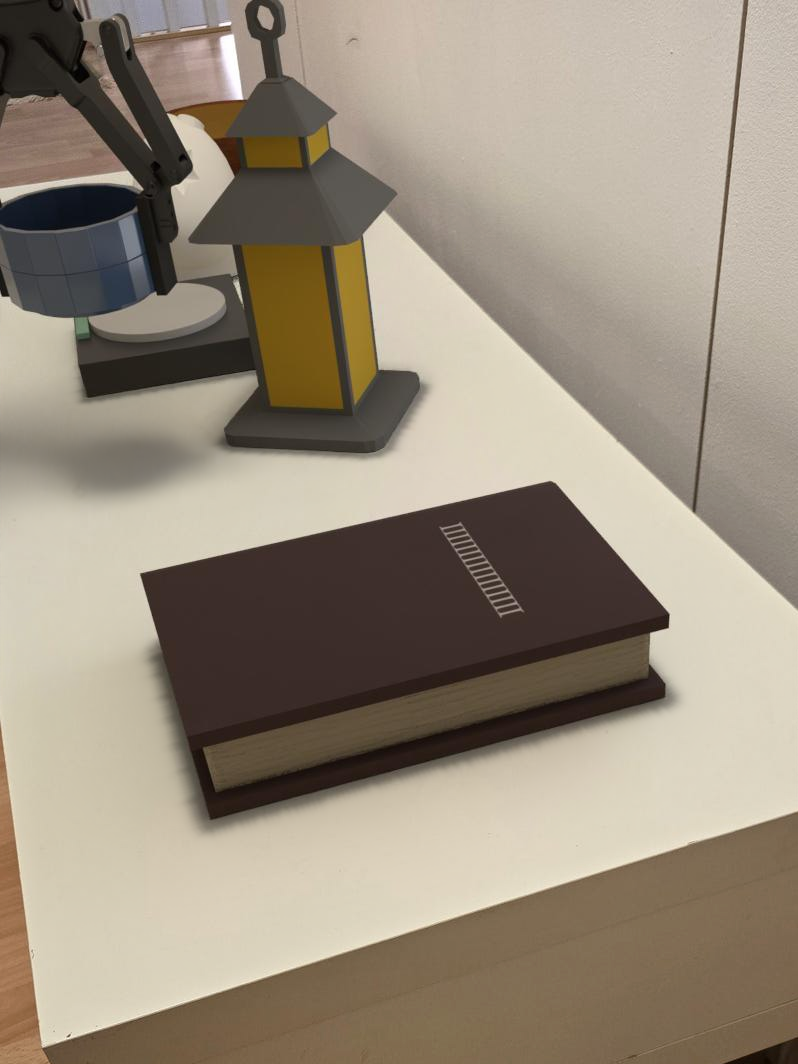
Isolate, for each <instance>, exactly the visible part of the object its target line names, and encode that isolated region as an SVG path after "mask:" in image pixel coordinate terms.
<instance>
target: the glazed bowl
mask: <svg viewBox="0 0 798 1064" xmlns="http://www.w3.org/2000/svg"><path fill="white" fill-rule="evenodd" d="M141 192H142V190H140V189H138V188H136V187H133V185H128V184H121V183H120V184H119V183H113V182H90V183H88V182H86V183H84V182H83V183H75V184H66V185H59V186H51V187H46V188H43V189H39V190H35V191H31V192H26V193H23V194H20V195H18V196H15V197H13V198H11V199H8V200H6V201H2V202H1V204H0V266H1V270H2V273H3V276H4V280H5V283H6V286H7V289H8V293H9V296H10V297H9V299H10V302H11V303H12V304H13V305H15V306H16V307H17V308H19V309H21V310H22V311H24V312H30V313H35V314H38V315H41V316H45V317H50V318H58V319H74V318H81V317H91V316H97V315H103V314H108V313H112V312H116V311H119V310H122V309H125V308H128V307H130V306H133V305H135V304H137V303H139V302H141V301H142V300H144V299H145V298H147V297H148V296H149V295H150V294H152V293H154V292H156V289H155V285H154V281H153V276H152V272H151V267H150V263H149V258H148V254H147V250H146V245H145V241H144V236H143V232H142V228H141V223H140V219H139V214H138V210H137V205H136V201H135V198H136V197H137V196H138V195H139V194H140V193H141Z"/></svg>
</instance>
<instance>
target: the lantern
mask: <svg viewBox="0 0 798 1064" xmlns="http://www.w3.org/2000/svg"><path fill="white" fill-rule="evenodd" d="M260 7H264V8H266V9H268V10H269V12H270V14H271V16H272V18H273V22H272V27H271V29H268V28H266V27H264V26H263V25H262V23H261V21H260V19H259V17H258V15H259V10H260ZM244 15H245V20H246V27H247V31H248V33H249V35H250V38H252V39H255V40H257V41H259V42H260V43H259V44H260V50H261V54H262V62H263V68H264V74H265V78H264V79H262V80H261V81H260V82H258V83H257V84H256V86H255V87H254V89H253V90H252V92H251V93H250V94H249V96H248V97H247V99H246V100H247V101H246V103H245V104H244V106H243V107H242V109H241V110H240V112H239V113H238V115H237V117H236V118H235V120H234V121H233V123H232V124H231V126H230V127H229V129H228V130H227V132H226V134H225V137H236V141H237V147H238V153H239V158H240V164H241V168H240V170H239V171H238V173H237V174H236V176H235V177H234V179H233V180H232V181H231V183H230V184H229V185H228V187H227V188H226V189H225V190H224V192H223V193H222V194H221V196H220V197H219V198H218V200H217V201H216V202H215V204H214V205H213V206H212V208H211V209H210V210H209V212H208V213H207V214H206V215H205V217H204V218H203V219H202V221H201V222H200V223H199V225H198V226H197V227H196V229H195V230H194V231H193V233H192V234H191V235H190V237H189V238H188V241H189V243H193V244H216V245H232V247H233V253H234V258H235V263H236V269H237V274H238V275H237V278H238V283H239V289H240V290H239V291H240V294H241V300H242V306H243V308H244V311H245V316H246V322H247V327H248V332H249V338H250V343H251V348H252V354H253V359H254V364H255V369H254V370H255V374H256V380H257V385H258V386H257V387H256V389H254V391H253V392H252V393H251V394H250V396H249V397H248V398H247V399H246V401H245V402H244V403H243V404H242V405H241V406H240V408H239V409H238V410H237V411H236V413H235V414H234V415H233V416H232V417H231V419H230V420H229V422H228V423H227V424H226V425H225V426H224V427H223V431H224V435H225V440H226V444H227V445H230V446H233V447H241V448H242V447H243V448H244V447H245V448H261V449H264V448H265V449H283V450H284V449H285V450H302V451H303V450H304V451H305V450H307V451H322V452H323V451H325V452H327V451H328V452H345V453H346V452H347V453H372V452H377V451H378V450H380V449H383V448H384V447H385V446H386V445H387V443H388V442H389V440H390V438H391V437H392V434H393V433H394V431H395V430H396V428H397V427H398V425H399V423H400V422H401V420H402V419H403V417H404V415H405V413H406V412H407V410H408V408H409V406H410V405H411V403H412V402H413V400H414V398H415V397H416V395H417V393H418V392H419V390H420V389H421V383H420V376H419V375H418V373H417V372H415V371H411V370H401V369H400V370H397V369H395V370H394V369H379V359H378V352H377V350H378V349H377V343H376V334H375V325H374V318H373V317H374V316H373V308H372V299H371V292H370V284H369V283H370V282H369V275H368V274H369V273H368V266H367V258H366V249H365V241H364V239H365V238H364V234H365V233H366V232H367V231H368V229H369V228H370V227H371V226H372V225H373V223H374V222H375V221H376V220H377V219H378V217H379V216H380V215H381V214H382V213H383V212H384V211H385V210H386V208H387V207H388V206H390V204H391V203H392V202H393V200H394V199H395V198H396V197H397V196H398V192H397V191H396V189H394V188H392V187H391V186H389V185H388V184H387V183H385V182H383V180H380V179H379V178H378V177H376V176H375V175H374V174H372V173H370V172H369V171H368V170H366V169H365V168H363V167H361V166H360V165H358V164H357V163H356V162H354V161H353V160H351V159H350V158H348V157H347V156H345V155H344V154H342V153H341V152H339V151H338V150H336V149H335V148H334V147H332V144H331V143H332V142H331V137H330V128H329V122H330V121H331V120H332V119H333V118H334V117H335V116H337V115H338V112H337V111H336V110H335V109H333V108H332V107H331V106H329V105H328V104H327V103H326V102H325V101H323V100H322V99H321V98H320V97H318V96H317V95H315V93H313V92H312V91H310V90H309V89H308V88H307V87H306V86H304V85H303V84H301V83H300V82H299V81H298V80H297V79H296V78H294V77H292V76H290V75H285V74H284V73H283V66H282V60H281V58H282V57H281V51H280V45H279V38H280V37H282V36H284V35H285V34H286V29H287V21H286V15H285V7H284V4H282V2H281V1H280V0H250V1H249V2H248V3H247V4H246V6H245V9H244Z"/></svg>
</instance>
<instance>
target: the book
mask: <svg viewBox="0 0 798 1064" xmlns="http://www.w3.org/2000/svg"><path fill="white" fill-rule="evenodd" d="M139 575H140V576H139V577H140V579H141V583H142V587H143V590H144V593H145V596H146V600H147V604H148V608H149V611H150V614H151V619H152V621H153V625H154V628H155V632H156V635H157V639H158V642H159V645H160V649H161V652H162V656H163V660H164V662H165V666H166V669H167V673H168V677H169V680H170V684H171V687H172V691H173V694H174V698H175V701H176V704H177V708H178V711H179V714H180V718H181V722H182V726H183V729H184V733H185V736H186V739H187V743H188V747H189V749H190V754H191V757H192V761H193V764H194V767H195V771H196V774H197V778H198V781H199V784H200V788H201V792H202V795H203V798H204V802H205V805H206V808H207V813H208V815H209V819H210V820H213V819H217V818H221V817H223V816H224V817H225V816H228V815H231V814H235V813H239V812H244V811H246V810H250V809H255V808H257V807H262V806H265V805H268V804H273V803H276V802H281V801H284V800H288V799H291V798H294V797H299V796H302V795H306V794H309V793H313V792H318V791H320V790H321V791H322V790H325V789H328V788H332V787H336V786H340V785H343V784H347V783H349V782H350V783H351V782H354V781H358V780H361V779H366V778H368V777H372V776H373V777H374V776H377V775H381V774H384V773H387V772H393V771H395V770H399V769H402V768H406V767H410V766H414V765H417V764H421V763H425V762H428V761H429V762H430V761H433V760H436V759H439V758H444V757H447V756H451V755H455V754H458V753H462V752H465V751H470V750H473V749H477V748H481V747H484V746H488V745H492V744H496V743H499V742H503V741H507V740H511V739H514V738H517V737H522V736H525V735H530V734H533V733H536V732H540V731H544V730H547V729H552V728H555V727H559V726H562V725H563V726H564V725H567V724H569V723H574V722H576V721H581V720H585V719H588V718H591V717H596V716H599V715H603V714H607V713H611V712H615V711H618V710H622V709H626V708H630V707H633V706H636V705H637V706H638V705H641V704H644V703H647V702H651V701H655V700H659V699H663V698H666V687H667V686H666V685H667V684H666V682H665V681H664V679H662V677H661V676H660V675H659V673H658V672H657V671H656V670H655V668H654V667H653V666H652V665H651V663H650V647H651V634H652V633H656V632H660V631H664V630H667V629H670V616H671V614H670V612H669V611H668V609H666V607H665V606H664V605H663V604H662V603H661V602H660V601H659V599H657V597H656V596H655V595H654V593H652V592H651V590H650V589H648V587H647V586H646V585H645V583H643V581H642V580H641V579H640V578H639V577H638V576H637V575H636V573H635V572H634V571H633V570H632V568H631V567H630V566H629V565H628V564H627V563H626V562H625V561H624V559H623V558H622V557H621V556H620V555H619V554H618V552H616V550H615V549H614V548H613V546H611V545H610V543H608V541H607V540H606V539H605V538H604V537H603V535H602V534H601V533H600V532H599V531H598V530H597V528H596V527H594V525H593V524H592V523H591V522H590V521H589V519H588V518H587V517H586V516H585V515H584V514H583V512H581V510H580V509H579V508H578V507H577V506H576V505H575V504H574V502H573V501H572V500H571V499H570V498H569V496H568V495H567V494H566V493H565V492H564V491H563V490H562V489H561V487H560V486H559V485H558V484H557V483H556V482H554V481H552V480H548V481H544V482H538V483H534V484H529V485H526V486H521V487H517V488H513V489H507V490H504V491H500V492H499V491H498V492H494V493H490V494H485V495H481V496H475V497H472V498H468V499H463V500H458V501H454V502H449V503H446V504H441V505H437V506H433V507H428V508H423V509H419V510H414V511H411V512H406V513H402V514H397V515H392V516H387V517H384V518H380V519H374V520H371V521H366V522H362V523H357V524H353V525H348V526H344V527H339V528H335V529H330V530H326V531H321V532H317V533H313V534H309V535H302V536H299V537H294V538H291V539H290V538H289V539H285V540H282V541H277V542H273V543H268V544H264V545H259V546H255V547H250V548H246V549H242V550H237V551H233V552H229V553H225V554H219V555H215V556H211V557H207V558H202V559H197V560H193V561H188V562H185V563H184V562H183V563H179V564H175V565H171V566H165V567H162V568H157V569H153V570H149V571H144V572H140V573H139Z"/></svg>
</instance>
